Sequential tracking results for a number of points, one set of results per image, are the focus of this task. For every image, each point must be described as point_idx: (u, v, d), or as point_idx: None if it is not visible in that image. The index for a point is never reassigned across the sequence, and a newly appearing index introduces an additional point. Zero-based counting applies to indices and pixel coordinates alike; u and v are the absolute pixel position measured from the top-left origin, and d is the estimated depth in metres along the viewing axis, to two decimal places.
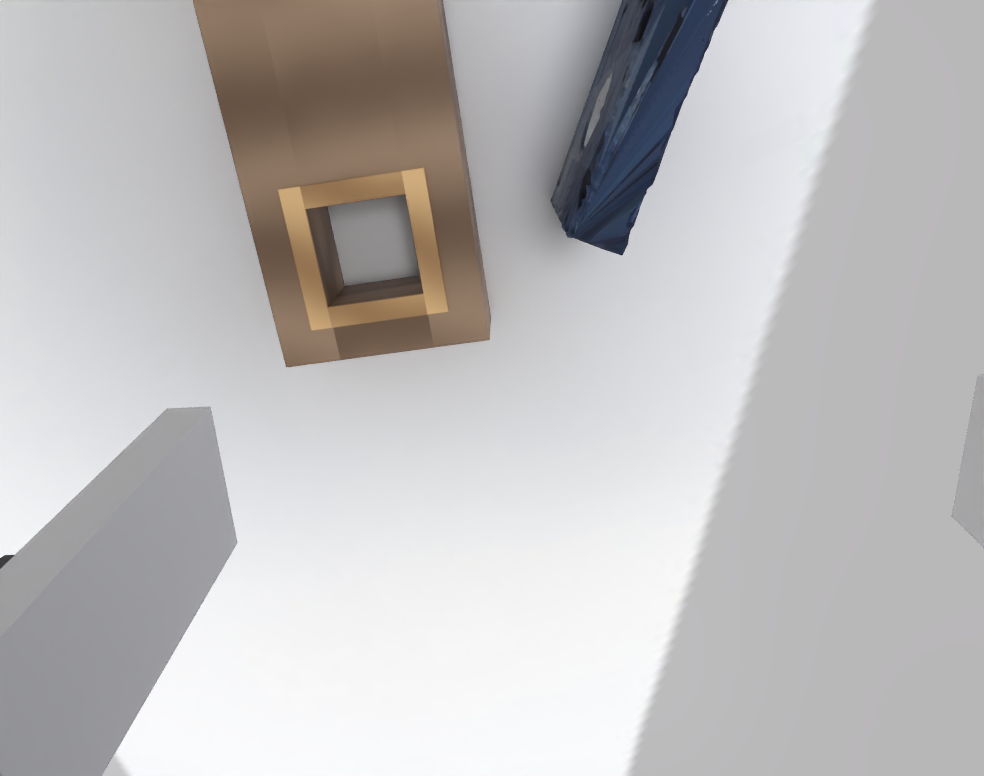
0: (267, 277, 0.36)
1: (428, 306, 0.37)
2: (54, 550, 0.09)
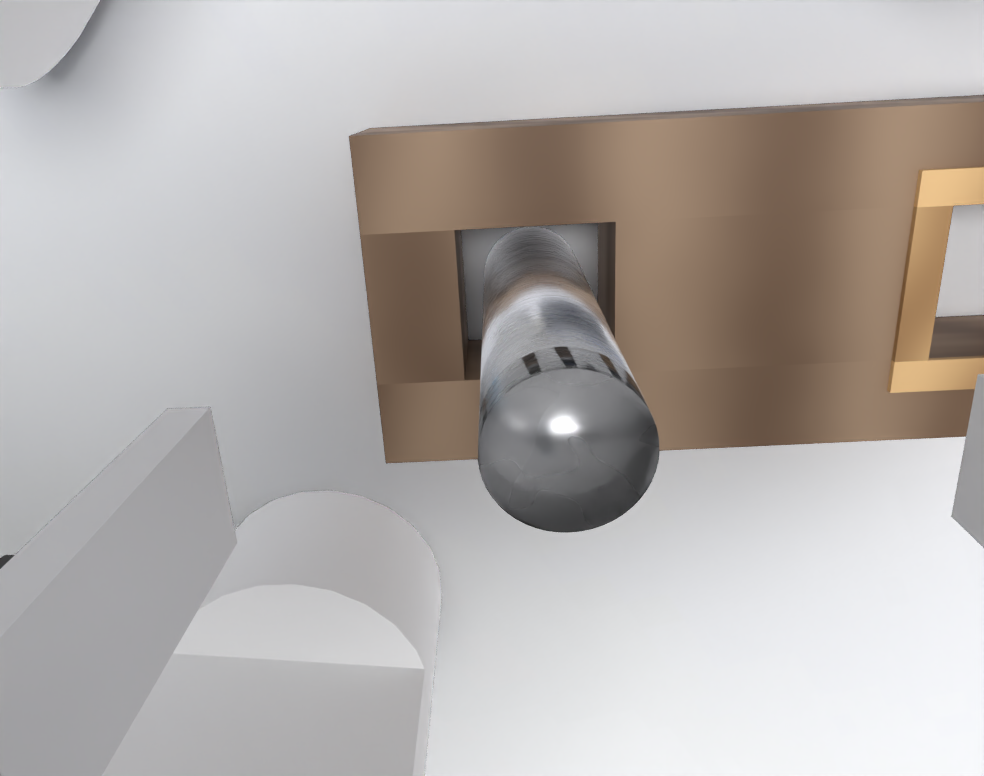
0: None
1: None
2: (54, 550, 0.09)
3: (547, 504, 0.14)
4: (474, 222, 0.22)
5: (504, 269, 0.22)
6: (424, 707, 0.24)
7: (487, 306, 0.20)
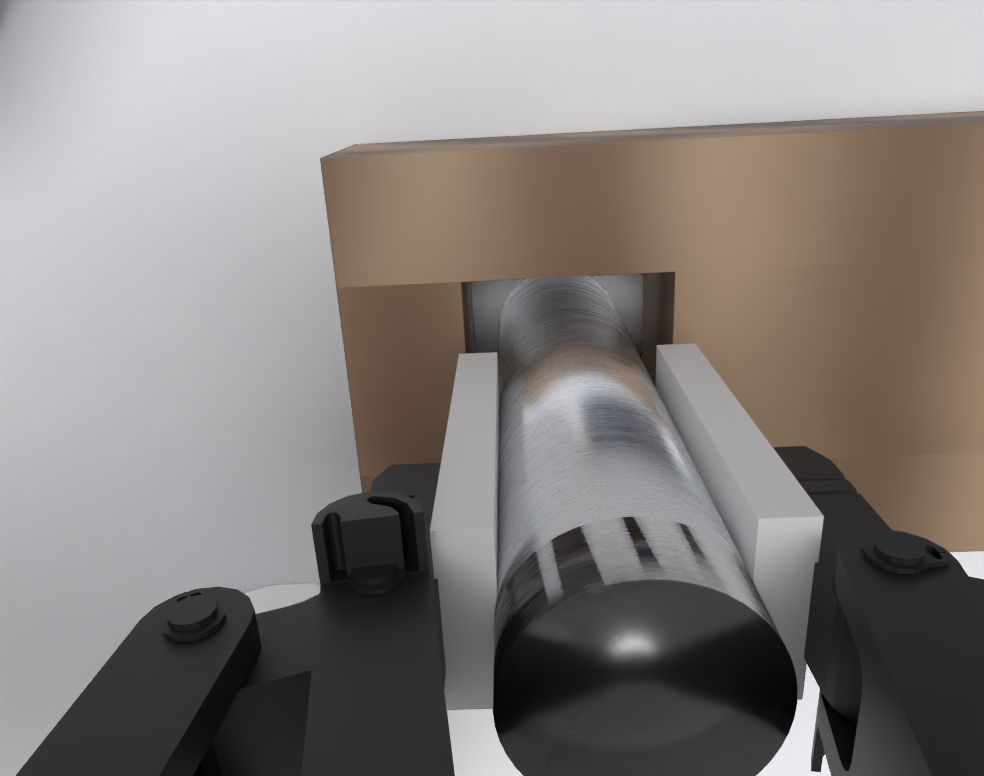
0: None
1: None
2: (472, 451, 0.11)
3: None
4: (487, 272, 0.17)
5: (527, 336, 0.16)
6: None
7: (505, 392, 0.15)
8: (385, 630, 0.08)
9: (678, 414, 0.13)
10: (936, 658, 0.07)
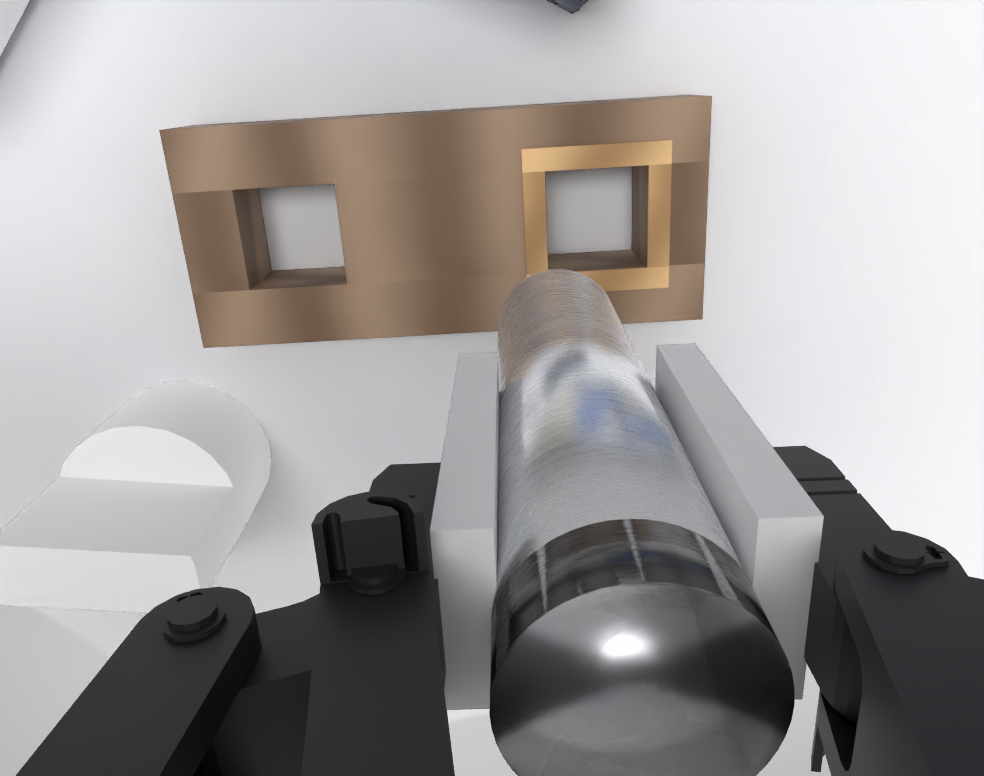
0: None
1: (662, 161, 0.34)
2: (473, 450, 0.11)
3: None
4: (244, 184, 0.35)
5: (525, 337, 0.16)
6: (227, 506, 0.37)
7: (503, 393, 0.15)
8: (385, 630, 0.08)
9: (678, 414, 0.13)
10: (936, 658, 0.07)
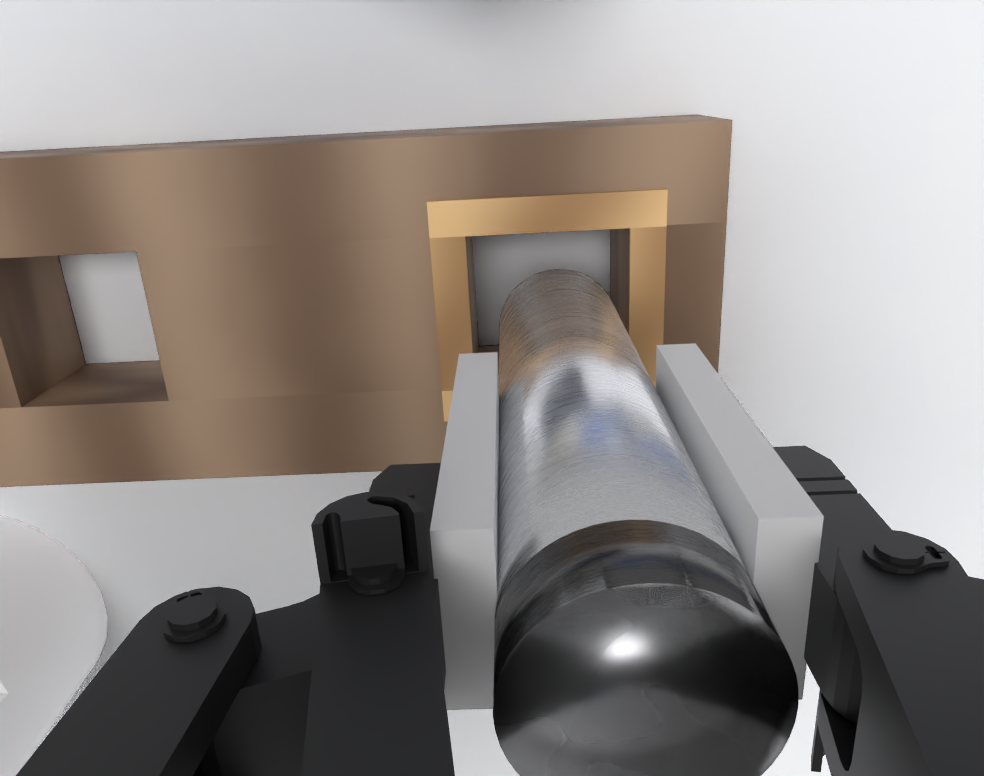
0: None
1: (652, 222, 0.22)
2: (472, 450, 0.11)
3: None
4: None
5: (527, 337, 0.16)
6: None
7: (505, 393, 0.15)
8: (385, 630, 0.08)
9: (678, 414, 0.13)
10: (936, 658, 0.07)
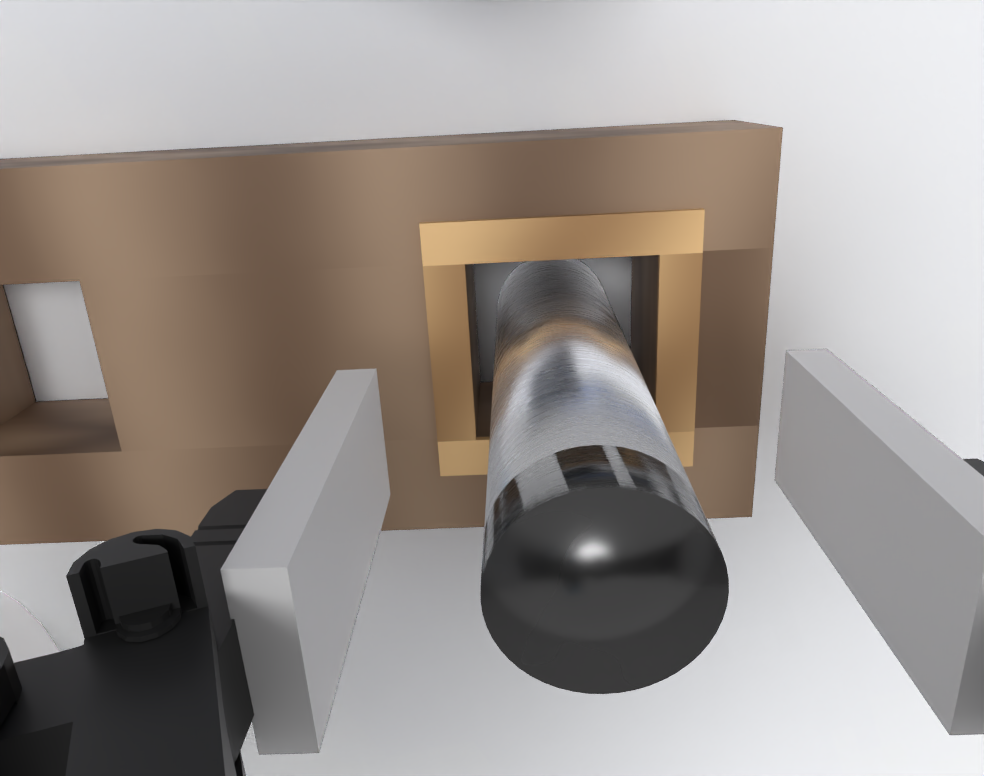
0: None
1: (685, 247, 0.18)
2: (304, 478, 0.11)
3: (574, 658, 0.10)
4: None
5: (520, 312, 0.18)
6: None
7: (499, 360, 0.17)
8: (157, 677, 0.07)
9: (827, 424, 0.13)
10: None
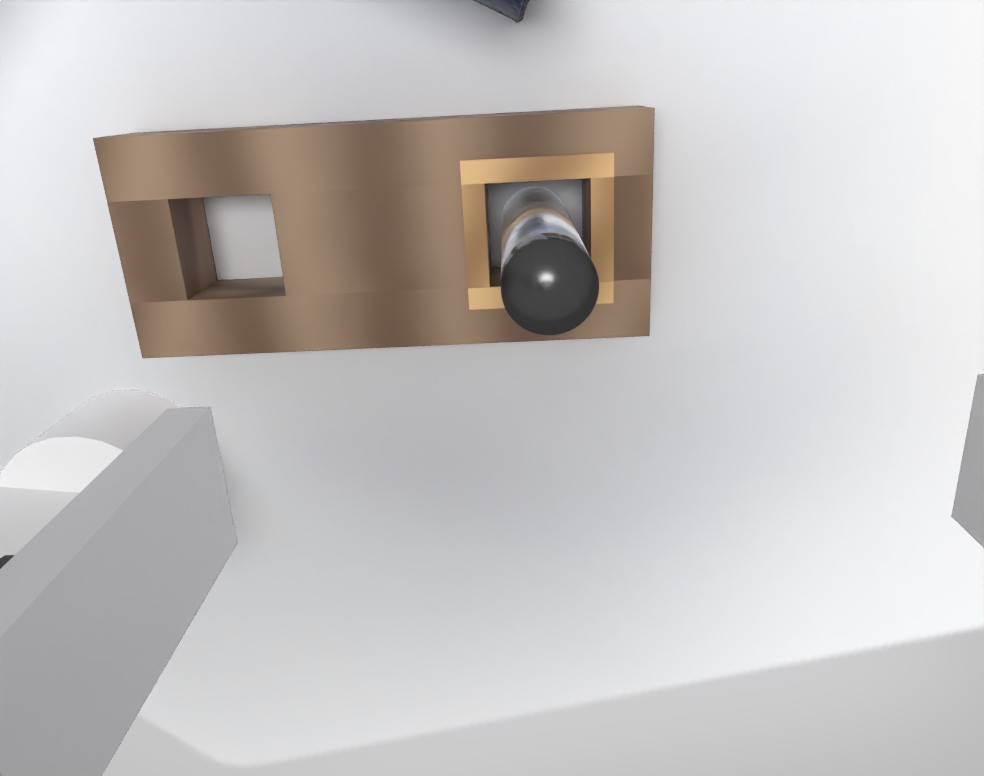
0: (553, 336, 0.36)
1: (604, 174, 0.33)
2: (54, 550, 0.09)
3: (538, 318, 0.26)
4: (179, 194, 0.34)
5: (515, 208, 0.33)
6: None
7: (504, 229, 0.32)
8: None
9: None
10: None
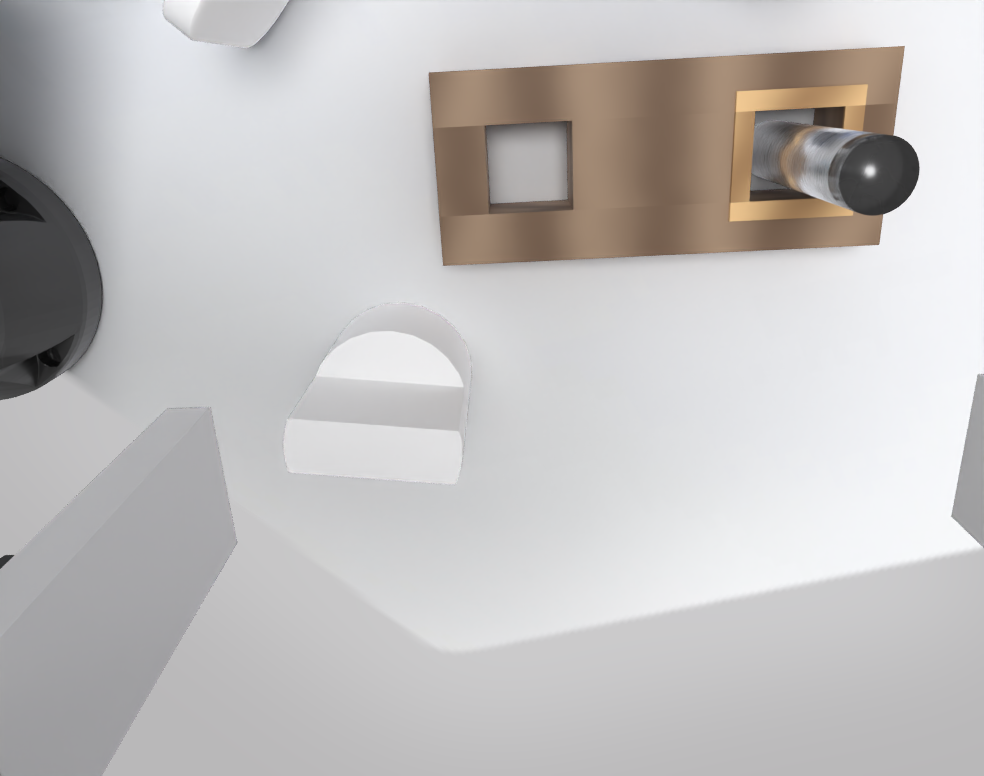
0: (797, 245, 0.43)
1: (858, 102, 0.40)
2: (54, 550, 0.09)
3: (866, 201, 0.32)
4: (495, 121, 0.41)
5: (784, 131, 0.40)
6: (464, 401, 0.43)
7: (784, 146, 0.38)
8: None
9: None
10: None
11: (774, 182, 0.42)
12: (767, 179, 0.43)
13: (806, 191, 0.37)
